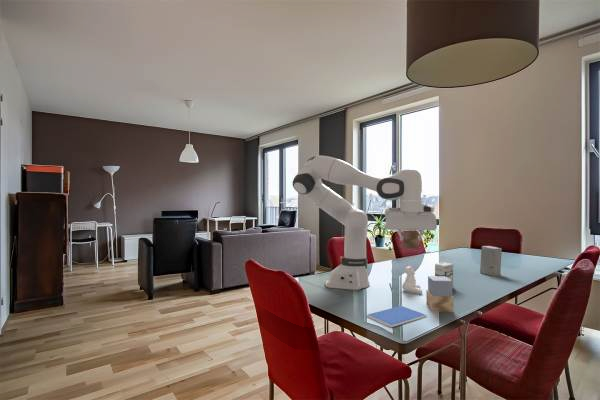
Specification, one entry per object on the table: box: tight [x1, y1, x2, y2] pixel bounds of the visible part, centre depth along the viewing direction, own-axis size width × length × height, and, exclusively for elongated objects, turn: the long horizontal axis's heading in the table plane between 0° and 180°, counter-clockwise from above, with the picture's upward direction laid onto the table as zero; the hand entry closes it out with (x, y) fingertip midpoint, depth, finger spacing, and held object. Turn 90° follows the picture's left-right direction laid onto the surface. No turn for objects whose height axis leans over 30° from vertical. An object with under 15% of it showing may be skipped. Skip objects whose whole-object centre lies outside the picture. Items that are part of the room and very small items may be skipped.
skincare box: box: [479, 245, 503, 277], centre depth 176 cm, size 8×7×16 cm
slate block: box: [427, 275, 453, 297], centre depth 122 cm, size 7×7×6 cm
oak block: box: [425, 289, 455, 313], centre depth 122 cm, size 8×8×6 cm
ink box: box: [434, 261, 454, 289], centre depth 150 cm, size 8×5×12 cm, turn 123°
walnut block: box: [402, 230, 419, 250], centre depth 127 cm, size 5×5×7 cm
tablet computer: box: [366, 305, 428, 328], centre depth 114 cm, size 19×13×1 cm, turn 121°
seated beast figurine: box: [402, 265, 423, 295], centre depth 145 cm, size 10×9×12 cm
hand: (410, 240), depth 128 cm, fingers closed on walnut block, 5 cm apart
